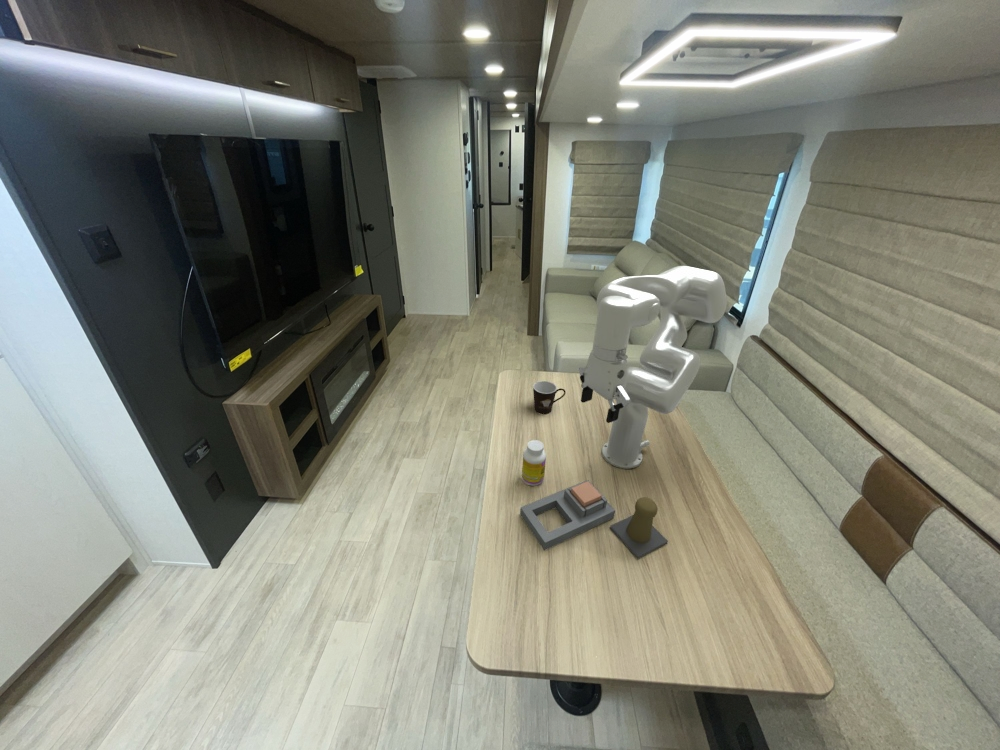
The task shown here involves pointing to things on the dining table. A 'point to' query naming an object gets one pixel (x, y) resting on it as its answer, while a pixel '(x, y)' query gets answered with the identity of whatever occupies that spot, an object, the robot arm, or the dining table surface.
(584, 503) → the salmon square block
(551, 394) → the coffee mug
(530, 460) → the supplement bottle
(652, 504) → the brown pawn
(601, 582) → the dining table surface
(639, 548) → the rubber mat
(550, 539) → the frame
